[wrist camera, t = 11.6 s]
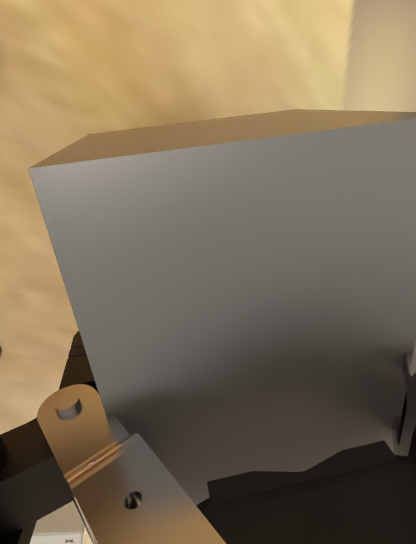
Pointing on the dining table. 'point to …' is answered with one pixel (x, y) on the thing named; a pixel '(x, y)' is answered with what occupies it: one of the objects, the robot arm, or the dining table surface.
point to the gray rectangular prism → (242, 282)
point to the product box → (59, 527)
